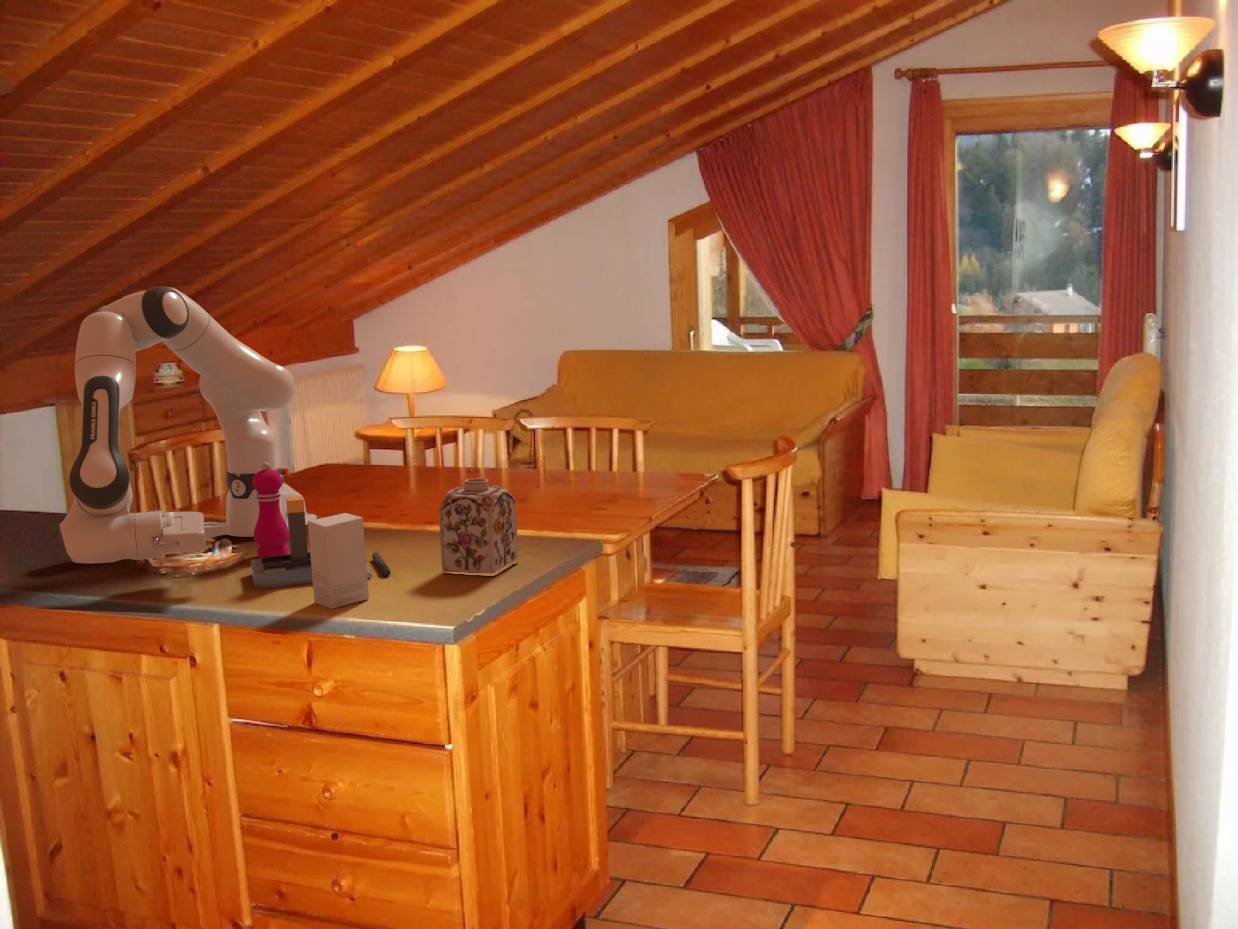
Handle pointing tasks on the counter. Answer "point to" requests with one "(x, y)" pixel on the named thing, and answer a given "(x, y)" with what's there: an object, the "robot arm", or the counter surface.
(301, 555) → the lever
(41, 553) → the counter surface
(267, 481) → the pepper mill
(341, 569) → the skincare box
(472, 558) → the decorative jar
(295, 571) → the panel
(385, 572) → the dark grey capsule
